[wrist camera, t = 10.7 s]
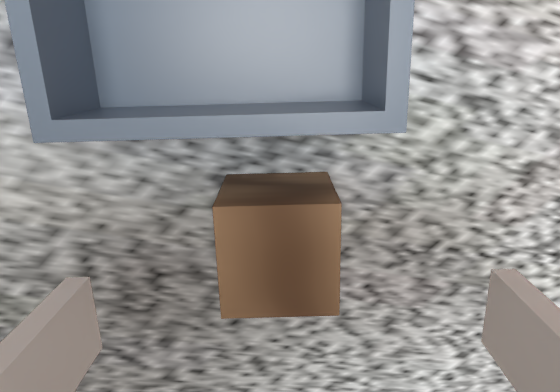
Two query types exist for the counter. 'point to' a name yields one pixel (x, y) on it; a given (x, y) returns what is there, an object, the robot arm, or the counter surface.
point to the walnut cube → (278, 245)
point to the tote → (212, 67)
